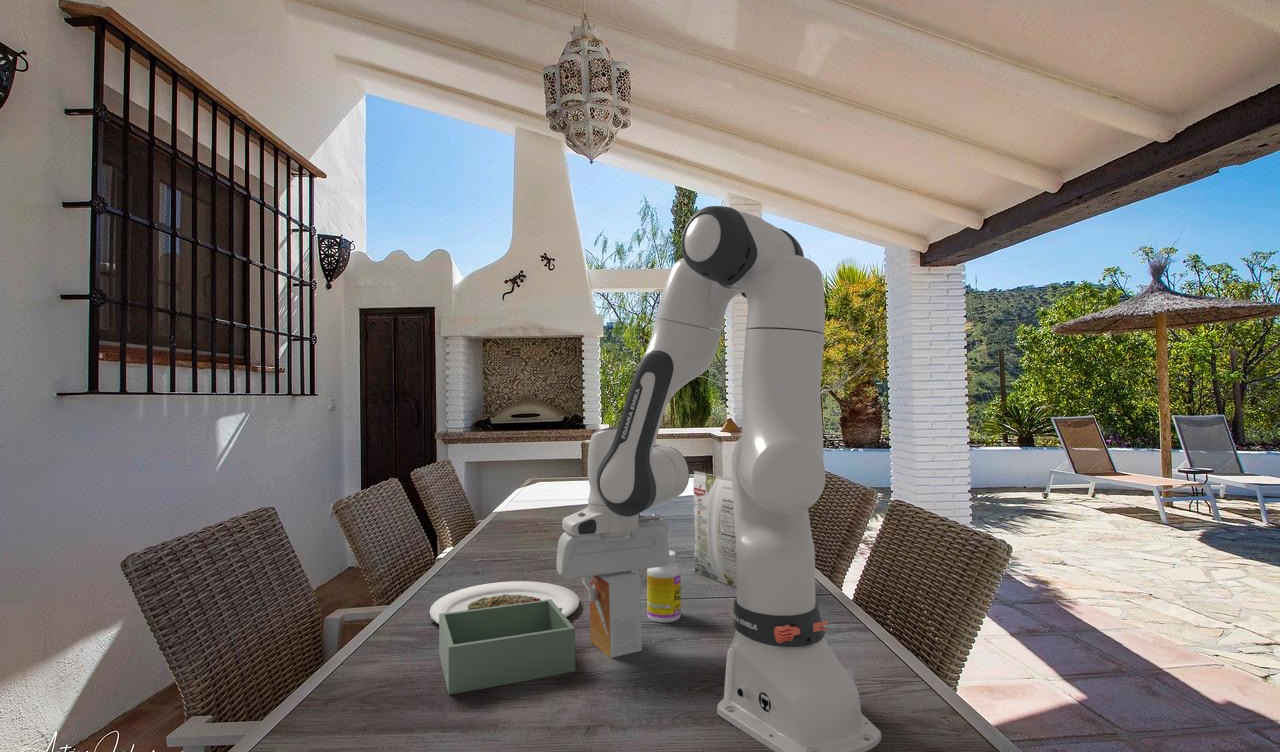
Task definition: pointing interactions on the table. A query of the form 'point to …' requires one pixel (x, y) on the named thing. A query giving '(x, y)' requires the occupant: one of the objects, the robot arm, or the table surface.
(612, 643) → the small box
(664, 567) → the supplement bottle
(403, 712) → the table surface
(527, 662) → the tote
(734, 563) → the frozen beans
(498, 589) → the plated food
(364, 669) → the table surface
